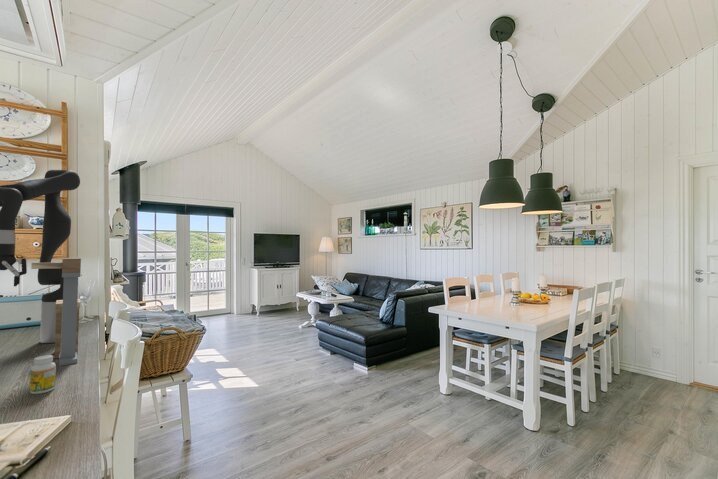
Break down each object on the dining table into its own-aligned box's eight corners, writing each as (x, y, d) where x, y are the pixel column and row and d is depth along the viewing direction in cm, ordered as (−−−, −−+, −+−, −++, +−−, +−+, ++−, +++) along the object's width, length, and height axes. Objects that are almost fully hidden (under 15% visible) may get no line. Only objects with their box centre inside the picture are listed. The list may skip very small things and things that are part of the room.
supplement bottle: (59, 388, 100) (60, 355, 101) (37, 395, 95) (39, 361, 95) (47, 385, 102) (48, 353, 102) (25, 392, 97) (26, 358, 97)
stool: (54, 351, 133) (56, 300, 134) (77, 348, 138) (79, 298, 138) (53, 358, 126) (55, 303, 126) (78, 354, 130) (80, 302, 130)
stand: (59, 358, 126) (62, 271, 126) (76, 355, 129) (79, 270, 130) (58, 365, 118) (61, 273, 119) (77, 362, 121) (80, 272, 122)
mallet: (32, 272, 120) (32, 258, 121) (79, 271, 129) (80, 257, 129) (30, 273, 114) (30, 259, 114) (80, 272, 123) (80, 258, 123)
